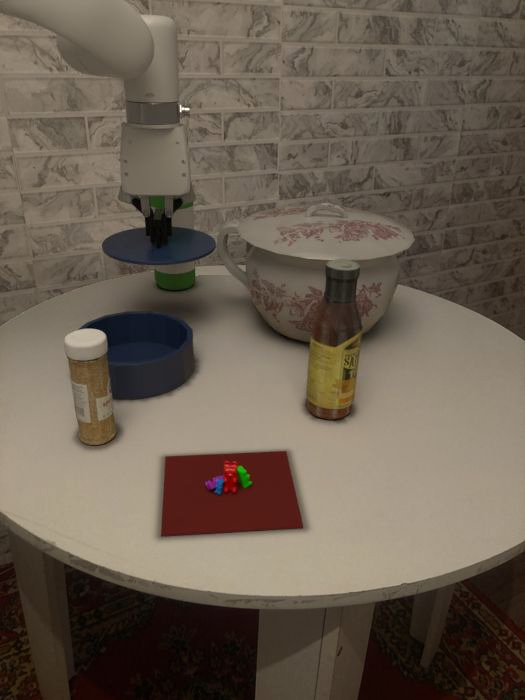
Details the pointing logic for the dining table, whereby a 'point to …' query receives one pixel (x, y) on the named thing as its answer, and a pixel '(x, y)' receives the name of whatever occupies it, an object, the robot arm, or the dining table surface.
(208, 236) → the lid
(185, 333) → the pan
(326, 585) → the dining table surface
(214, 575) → the dining table surface
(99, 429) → the spice jar
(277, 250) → the chamber pot
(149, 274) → the dining table surface
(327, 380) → the sauce bottle
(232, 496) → the cloth
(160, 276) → the wine bottle
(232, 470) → the gummy candies
